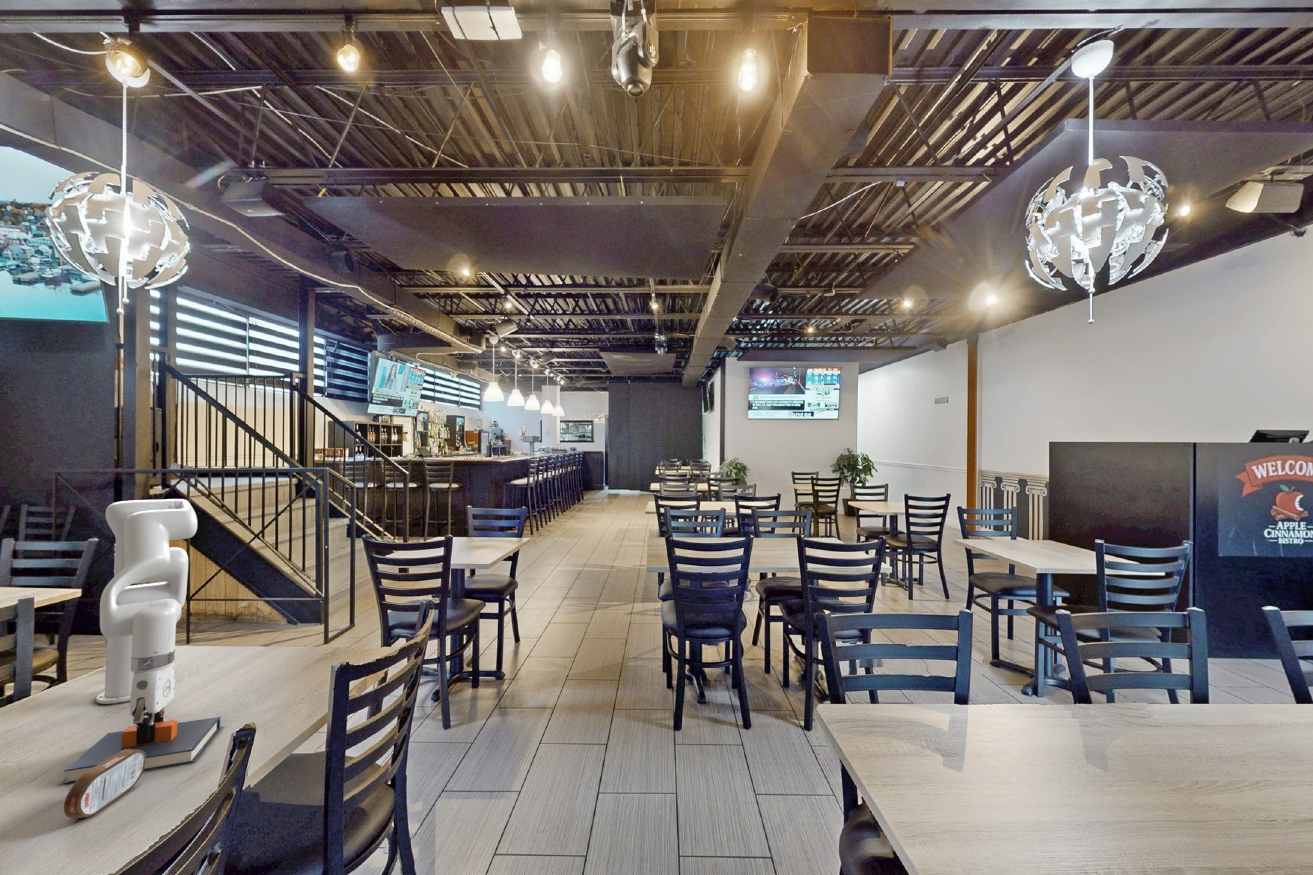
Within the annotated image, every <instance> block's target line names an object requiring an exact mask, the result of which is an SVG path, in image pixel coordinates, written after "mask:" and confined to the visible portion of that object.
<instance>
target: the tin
mask: <svg viewBox="0 0 1313 875" xmlns="http://www.w3.org/2000/svg"><path fill="white" fill-rule="evenodd" d="M145 761H146V754H145V753H144V752H143V751H141V750H132V749H125V750H123V751H121V752H119V753H117V754H116V755H114V756H112V757H111V758H109V759H107V760H106V761H104V762H102V763H101V764H99V765H97V766H95V767H94V768H92V769H90V770H89V771H87V772H85V773H84V774H83V775H82V776H81V777H80V778H79V779H78V780H77V781H76V782H75V783H73V785H72V786H71V787H70V789H69V791H68V793H67V795H66V797H65V800H64V804H63V813H64V816H66V817H67V818H69V819H75V818H77V819H79V818H80V819H81V818H84V819H85V818H89V817H91V816H93V815H96V814H97V813H98V812H100V811H102V810H103V809H104V808H106V807H107V806H109V805H110V804H111V803H113V802H115V801H116V800H117V799H119V798H120V797H122V796H123V795H125V794H126V793H128V792H129V791H130V790H131V789H133V788H134V787H135V786H136V784H137V783H138V781H139V780H140V779H141V777H142V775H143V773H144V772H145V771H144V766H145Z"/></svg>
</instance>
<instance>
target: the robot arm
mask: <svg viewBox="0 0 1313 875" xmlns="http://www.w3.org/2000/svg"><path fill="white" fill-rule="evenodd" d="M191 504H192V503H191V502H189V501H188V500H187V499H184V498H168V499H137V500H136V499H135V500H134V499H133V500H123V501H116V502H112V503H111V504H109V505H108V506H107V507H106V510H105V520H106V521H107V524H108V526H109V528H110V530H111V531H112V533H113V535H114V538H115V551H114V566H113V574H114V575H113V576H114V577H112V578H111V580H109V582H108V583H107V584H106V586H105V587H104V588H103V591H102V593H101V596H100V601H99V628H100V633H101V634H102V636H103V637H105V638H106V655H105V677H104V690H103V691H102V692H101V693H99V694H98V695H97V696H96V703H98V704H101V705H111V704H120V703H126V702H129V714H130V716H131V717H132V718H133V720H132V724H134V725H136V728H137V738H136V744H137V745H140V744H147V743H153V742H154V741H155V731H156V724H154V723H156V722H164V719H165V718H164V715H165V707H166V706H167V705H168V704H169V703H171V701H172V700H173V699H174V697H175V693H176V689H175V688H176V686H175V678H176V677H175V665H174V664H175V658H176V657H175V656H176V633H177V623H178V622H179V621H180V620H181V617H182V608H183V607H184V605H185V603H186V599H187V590H188V589H187V587H188V577H189V555H188V553H187V551H186V550H185V549H184V548H182V547H179V546H173V547H170V541H175V540H185V539H190V538H193V537H194V536H195V535H196V533H197V530H198V517H197V514H196V511H195V509H194V508H193V506H192V505H191ZM144 582H149V584H140V585H138V583H144Z"/></svg>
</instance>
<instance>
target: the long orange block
mask: <svg viewBox="0 0 1313 875" xmlns="http://www.w3.org/2000/svg"><path fill="white" fill-rule="evenodd" d="M177 723H178V719H171V720H163V722H156V723H154V724H156V731H155V741H154V742H153V743H159V742H165V741H171V740H172V739H173V738H174V737H175V736H176V735H177ZM122 731H123V732H122V747H121V748H126V747H133V746H139V745H137V744H136V738H137V728H136V724H134V725H130V726H127V727H126V728H125V729H124V730H122ZM147 744H152V743H147ZM140 745H146V744H140Z"/></svg>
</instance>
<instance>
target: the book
mask: <svg viewBox="0 0 1313 875" xmlns="http://www.w3.org/2000/svg"><path fill="white" fill-rule="evenodd" d="M220 729H221V716H216V717H209V718H203V719H196V720H188V721H182V722H177V735H176V736H175V737H174V738H173V739H172V740H171V741H165V742H159V743H152V744H146V745H139V746H133V747H126V748H121V747H122V732H123V731H124V730H119V731H113V732H108V733H106V734H105V735H103V737H102V738H101V739H99V740H98V741H97V742H96V743H94V745H92V746H91V747H90V748H88V750H86V751H85V752H84V753H83V754H81V755H80V756H79V757H78V758H76V759H75V761H73V762H72V763H70V765H69V766H67V767H66V768H65V769H64V772H66V773H67V774H66V780H65V781H64V782H63V785H67V784H74V783H75V782H76V781H77V780H78V779H79V778H80V777H81V776H82V775H83V774H84V773H85V772H87V771H89V770H90V769H92V768H94V767H95V766H97V765H99V764H101V763H102V762H104V761H106V760H107V759H109V758H111V757H112V756H114V755H116V754H117V753H119V752H121V751H123V750H125V749H132V750H141V751H143V752H144V753H145V754H146V761H145V766H144V771H143V772H145V771H151V770H157V769H163V768H168V767H175V766H180V765H187V764H192V763H194V762H195V761H196V760H197V758H198V757H199V756H200V755H201V753H202V752H203V751H204V749H205V748H206V747H207V746H208V745H209V743H210V742H211V741H212V740H213V738H214V737H215V736H216V734H217V733H218V732H219V731H220Z"/></svg>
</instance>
